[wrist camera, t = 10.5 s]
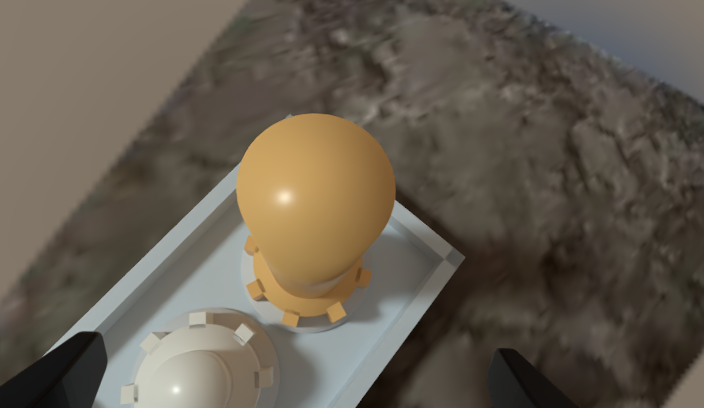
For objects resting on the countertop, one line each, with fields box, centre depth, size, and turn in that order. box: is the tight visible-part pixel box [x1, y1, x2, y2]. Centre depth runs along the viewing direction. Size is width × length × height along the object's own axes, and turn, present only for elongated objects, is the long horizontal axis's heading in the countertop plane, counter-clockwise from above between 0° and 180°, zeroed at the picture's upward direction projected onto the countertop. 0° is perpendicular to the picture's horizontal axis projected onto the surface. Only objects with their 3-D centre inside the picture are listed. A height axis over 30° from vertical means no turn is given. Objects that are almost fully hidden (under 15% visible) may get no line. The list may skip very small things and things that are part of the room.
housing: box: [45, 114, 465, 408], centre depth 20 cm, size 18×12×5 cm, turn 140°
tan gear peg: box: [236, 114, 396, 327], centre depth 16 cm, size 6×6×13 cm
